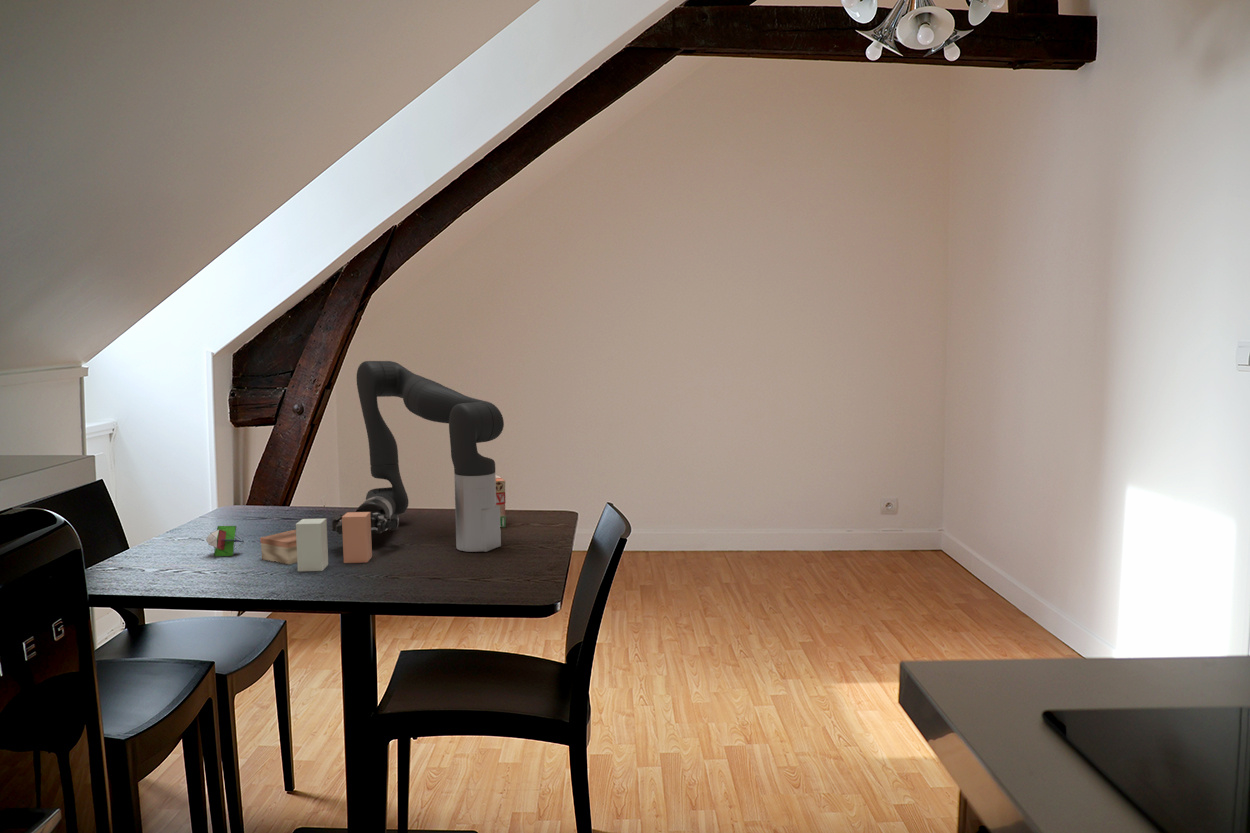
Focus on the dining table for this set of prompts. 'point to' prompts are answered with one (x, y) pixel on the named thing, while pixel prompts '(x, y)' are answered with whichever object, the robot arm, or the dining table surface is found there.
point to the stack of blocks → (501, 499)
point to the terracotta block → (356, 537)
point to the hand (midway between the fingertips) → (359, 529)
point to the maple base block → (280, 547)
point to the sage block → (312, 544)
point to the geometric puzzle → (223, 540)
